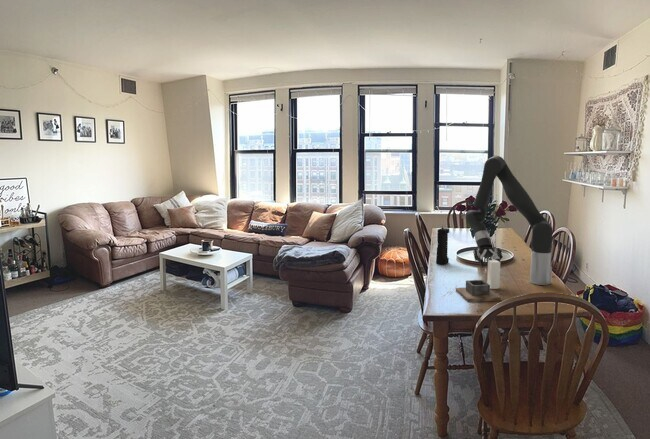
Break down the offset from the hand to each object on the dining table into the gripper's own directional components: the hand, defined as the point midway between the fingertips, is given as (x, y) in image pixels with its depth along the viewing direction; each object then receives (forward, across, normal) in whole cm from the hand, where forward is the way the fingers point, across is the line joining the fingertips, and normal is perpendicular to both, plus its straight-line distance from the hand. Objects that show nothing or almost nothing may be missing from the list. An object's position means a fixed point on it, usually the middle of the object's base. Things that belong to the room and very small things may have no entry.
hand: (491, 266), depth 214 cm
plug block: (+9, 0, +5) cm, 11 cm away
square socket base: (+17, -13, -2) cm, 22 cm away
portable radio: (-25, -11, +40) cm, 49 cm away
